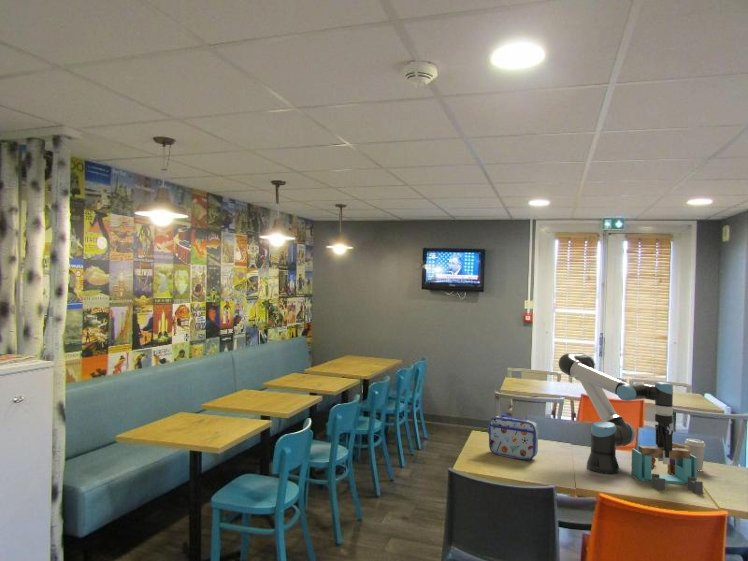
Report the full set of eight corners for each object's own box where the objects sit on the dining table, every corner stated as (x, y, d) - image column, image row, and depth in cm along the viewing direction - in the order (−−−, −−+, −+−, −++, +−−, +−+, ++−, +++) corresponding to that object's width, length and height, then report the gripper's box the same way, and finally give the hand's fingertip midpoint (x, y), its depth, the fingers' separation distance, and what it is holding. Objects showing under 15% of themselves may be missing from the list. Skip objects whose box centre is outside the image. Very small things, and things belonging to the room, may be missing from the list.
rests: (658, 490, 225) (658, 478, 225) (651, 485, 232) (651, 473, 232) (702, 493, 223) (702, 482, 223) (694, 488, 230) (694, 477, 230)
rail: (642, 457, 240) (642, 447, 240) (638, 454, 244) (638, 445, 245) (690, 460, 238) (690, 451, 238) (685, 457, 242) (685, 448, 242)
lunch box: (484, 453, 273) (485, 413, 274) (490, 449, 282) (491, 410, 283) (534, 463, 258) (535, 421, 260) (539, 458, 267) (540, 417, 268)
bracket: (639, 480, 237) (639, 453, 238) (631, 474, 246) (631, 448, 247) (696, 485, 234) (696, 457, 235) (686, 478, 243) (686, 452, 244)
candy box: (689, 477, 247) (689, 446, 248) (684, 477, 245) (684, 446, 246) (672, 471, 255) (672, 441, 256) (667, 472, 253) (667, 442, 254)
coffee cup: (709, 473, 255) (709, 443, 255) (688, 471, 256) (688, 442, 257) (700, 467, 264) (700, 439, 265) (681, 465, 266) (681, 437, 267)
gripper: (680, 418, 233) (680, 468, 232) (663, 411, 251) (663, 458, 249) (664, 417, 234) (663, 467, 233) (647, 410, 251) (647, 456, 250)
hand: (663, 462), depth 241 cm, fingers closed on rail, 4 cm apart
